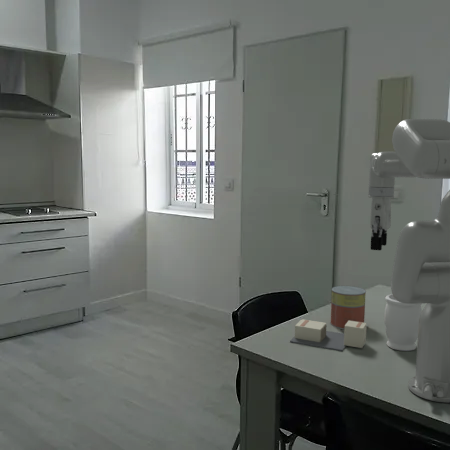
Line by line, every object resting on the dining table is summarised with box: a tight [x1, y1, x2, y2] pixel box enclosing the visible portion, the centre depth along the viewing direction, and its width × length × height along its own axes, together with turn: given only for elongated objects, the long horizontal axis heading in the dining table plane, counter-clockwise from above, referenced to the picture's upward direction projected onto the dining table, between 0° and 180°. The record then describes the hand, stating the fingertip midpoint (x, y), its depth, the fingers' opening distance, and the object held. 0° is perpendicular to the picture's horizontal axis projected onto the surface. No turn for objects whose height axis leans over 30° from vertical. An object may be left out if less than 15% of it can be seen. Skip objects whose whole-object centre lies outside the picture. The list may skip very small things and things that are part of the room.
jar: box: [383, 293, 423, 352], centre depth 148 cm, size 11×10×15 cm
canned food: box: [329, 285, 367, 330], centre depth 168 cm, size 11×11×12 cm
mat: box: [289, 330, 346, 352], centre depth 155 cm, size 14×16×1 cm
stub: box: [343, 321, 368, 349], centre depth 150 cm, size 6×5×6 cm
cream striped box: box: [294, 318, 327, 342], centre depth 156 cm, size 7×8×4 cm
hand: (378, 247), depth 156 cm, fingers open, 9 cm apart
